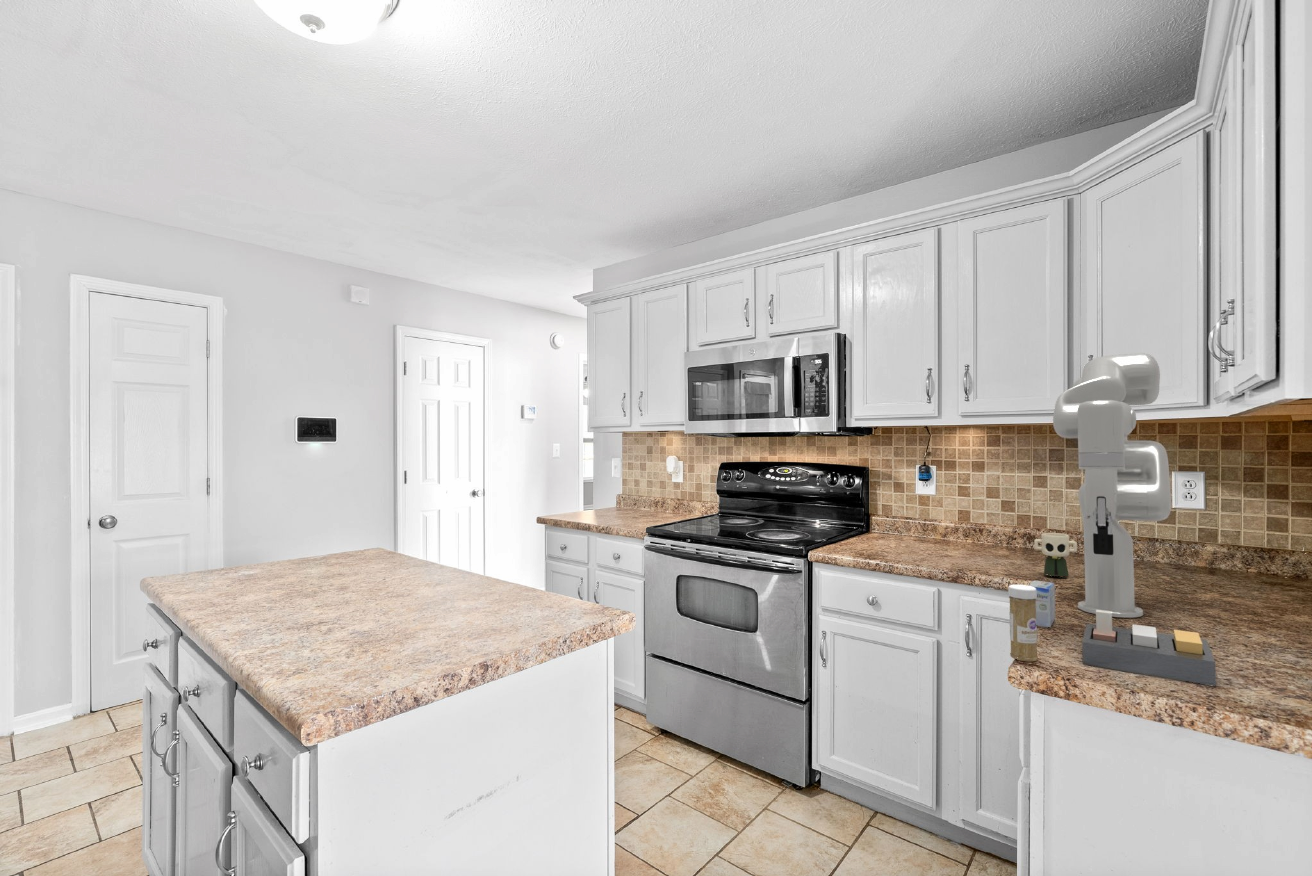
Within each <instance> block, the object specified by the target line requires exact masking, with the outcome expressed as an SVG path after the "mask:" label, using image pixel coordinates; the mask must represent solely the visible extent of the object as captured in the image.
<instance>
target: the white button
mask: <svg viewBox="0 0 1312 876" xmlns="http://www.w3.org/2000/svg"><path fill="white" fill-rule="evenodd" d="M1132 630H1133V645H1139V646H1146V647H1153V648H1157V634H1156V633H1157V629H1156V626H1150V625H1149V626H1147V625H1141V624H1140V625H1139V624H1132Z"/></svg>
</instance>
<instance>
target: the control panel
mask: <svg viewBox="0 0 1312 876" xmlns="http://www.w3.org/2000/svg"><path fill="white" fill-rule="evenodd" d="M1094 629H1096V624H1094V623H1086V624H1085V630H1084V634H1083V638H1082V665H1085V666H1090V665H1091V666H1090V667H1097V668H1103V669H1110V670H1114V671H1121V672H1128V673H1133V674H1139V675H1145V676H1150V677H1151V676H1152V677H1158V678H1163V679H1170V680H1174V681H1175V680H1176V681H1180V682H1181V681H1182V682H1186V681H1189V682H1188V683H1192V682H1193V684H1198V683H1200V684H1199V685H1204V686H1205V685H1206V686H1211V685H1213V687H1217V679H1216V678H1217V675H1216V671H1217V670H1216V660H1215V658H1214V655H1213V653H1212V650H1211V648H1210V645H1209V643H1208V640H1207V639H1206V638H1200V639H1201V642H1202V646H1203V655H1202V654H1195V653H1188V652H1181V651H1177V650H1176V646H1175V642H1174V634H1171V633H1170V634H1169V633H1160V632H1156V634H1157V648H1153V647H1146V646H1139V645H1133V628H1124V627H1116V626H1112V631H1115V632H1116V641H1115V642H1112V641H1105V640H1098V639H1093V631H1094Z"/></svg>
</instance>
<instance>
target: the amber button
mask: <svg viewBox="0 0 1312 876" xmlns="http://www.w3.org/2000/svg"><path fill="white" fill-rule="evenodd" d="M1173 635H1174V642H1175V646H1176V650H1177V651H1181V652H1188V653H1195V654H1202V655H1203V646H1202V642H1201V639H1202V638H1201V637H1200V636H1201V635H1200V634H1199V632H1194V631H1187V630H1179V629H1173Z"/></svg>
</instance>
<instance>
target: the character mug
mask: <svg viewBox="0 0 1312 876" xmlns="http://www.w3.org/2000/svg"><path fill="white" fill-rule="evenodd" d="M1040 536H1041V539H1040V538H1036V539H1034V540H1033V541H1034V544H1033V545H1034V550H1036V551H1041V552H1042V554H1043V555H1045V556H1047V557H1045V560H1044V568H1043V574H1044V575H1045V574H1048V575H1051V577H1052V576H1054V577H1055V576H1057V577H1058V576H1069V569H1068V564H1067V560H1066V558H1065V557H1068V556H1069V555H1070V553H1076V552H1078V543H1077V541H1075V540H1070V535H1069V534H1065V533H1058V532H1044V533H1043V532H1042V533H1041V535H1040ZM1039 543H1041V546H1039ZM1070 545H1072V548H1070Z"/></svg>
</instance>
